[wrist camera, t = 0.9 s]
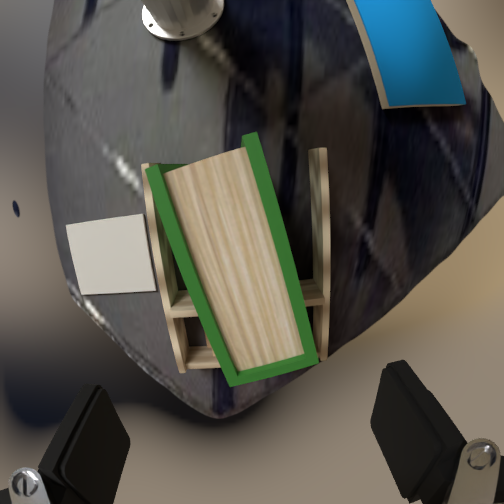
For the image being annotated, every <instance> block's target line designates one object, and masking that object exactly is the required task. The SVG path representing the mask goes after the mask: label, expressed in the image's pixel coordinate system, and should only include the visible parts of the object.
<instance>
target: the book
mask: <svg viewBox="0 0 504 504" xmlns="http://www.w3.org/2000/svg"><path fill="white" fill-rule="evenodd" d="M346 1H347V4H348V6H349V8H350V11H351V13H352V16H353V18H354V21H355V24H356V26H357V29H358V32H359V34H360V37H361V40H362V43H363V46H364V49H365V52H366V55H367V58H368V61H369V64H370V67H371V71H372V74H373V77H374V81H375V84H376V88H377V92H378V95H379V99H380V103H381V107H382V109H389V108H404V107H424V106H459V105H464V104H466V101H465V97H464V93H463V89H462V86H461V82H460V78H459V75H458V71H457V68H456V65H455V62H454V59H453V56H452V53H451V50H450V47H449V44H448V41H447V38H446V36H445V33H444V31H443V28H442V26H441V23H440V21H439V18H438V16H437V14H436V11H435V9H434V7H433V5H432V3H431V0H346Z"/></svg>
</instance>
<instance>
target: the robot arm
mask: <svg viewBox="0 0 504 504" xmlns="http://www.w3.org/2000/svg"><path fill="white" fill-rule="evenodd" d="M141 1H142V3H143V4H144V7H143V10H142V20H143V23H144V25H145V27H146V28H147V30H148V31H149V32H150V33H151V34H153V35H154V36H156V37H158V38H160V39H164V40H169V41H180V40H187V39H191V38H194V37H196V36H199V35H201V34H203V33H205V32H206V31H208V30H209V29H210V28H212V27H213V26H214V25H215V24H216V23H217V22H218V20H219V19H220V17H221V15H222V13H223V10H224V0H141ZM214 16H216V17H214ZM152 26H153V27H152ZM182 35H184V36H182ZM371 428H372V431H373V433H374V435H375V437H376V439H377V442H378V444H379V446H380V448H381V450H382V453H383V455H384V457H385V459H386V461H387V464H388V466H389V468H390V471H391V473H392V475H393V478H394V480H395V482H396V484H397V486H398V489H399V491H400V494H401V496H402V497H403V498H404V499H405V498H407V499H408V501H409V503H412V502H415V501H417V500H420V499H421V501H422V503H423V504H504V456H501V455H500V450H499V448H498V446H497V445H496V444H495V443H494V442H492V441H491V440H488V439H484V438H479V439H474V440H472V441H470V442H469V443H467V441H466V440H465V439H464V437H463V436H462V434H461V433H460V431H459V430H458V428H457V427H456V426H455V424H454V423H453V421H452V420H451V419H450V417H449V416H448V414H447V413H446V412H445V410H444V409H443V408H442V406H441V405H440V403H439V402H438V401H437V399H436V398H435V397H434V395H433V394H432V393H431V392H430V391H429V390H427V389H426V387H425V386H424V385H423V383H422V382H421V381H420V380H419V378H418V377H417V375H416V374H415V373H414V372H413V370H412V369H411V367H410V366H409V365H408V363H407V362H406V361H405V360H400V361H396V362H392V363H388V364H387V366H386V368H384V369H383V370H382V374H381V378H380V384H379V388H378V392H377V396H376V401H375V405H374V409H373V413H372V416H371ZM129 448H130V438H129V436H128V434H127V432H126V430H125V428H124V426H123V424H122V422H121V421H120V419H119V417H118V414H117V413H116V410H115V408H114V406H113V404H112V402H111V400H110V398H109V396H108V393H107V392H106V390H105V389H102V387H101V386H100V385H94V384H84V385H83V386H82V388H81V389H80V391H79V393H78V395H77V396H76V398H75V400H74V401H73V403H72V405H71V407H70V408H69V410H68V412H67V413H66V415H65V417H64V419H63V421H62V422H61V424H60V426H59V428H58V430H57V431H56V433H55V435H54V437H53V439H52V441H51V443H50V444H49V446H48V448H47V450H46V452H45V454H44V456H43V458H42V460H41V462H40V464H39V466H38V468H39V470H38V472H37V471H36V470H33V469H32V468H21V469H18V470H16V471H15V472H14V473H13V474H12V475H11V477H10V478H9V482H8V487H9V488H7V489H4V490H1V491H0V504H113V502H114V499H115V495H116V492H117V488H118V484H119V481H120V478H121V474H122V471H123V467H124V464H125V461H126V457H127V454H128V451H129Z"/></svg>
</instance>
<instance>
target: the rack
mask: <svg viewBox="0 0 504 504" xmlns="http://www.w3.org/2000/svg"><path fill="white" fill-rule="evenodd" d="M308 157H309V173H310V190H311V211H312V240H313V279H307V280H299V283H300V287H301V291H302V295H303V299H304V303H305V307H307V306H313V340H314V344H315V348H316V352H317V357H320V360H321V361H324V360H327V354H328V337H329V313H330V204H329V180H328V162H327V148H315V149H310V150H308ZM156 164H161V163H147V164H141V167H142V176H143V185H144V194H145V202H146V209H147V217H148V224H149V230H150V237H151V243H152V249H153V255H154V261H155V266H156V272H157V277H158V282H159V288H160V293H161V297H162V302H163V307H164V312H165V316H166V321H167V325H168V329H169V334H170V338H171V342H172V346H173V350H174V354H175V358H176V362H177V365H178V369H179V373H186V369H201V368H221V366H220V364H219V362H218V360H217V358H216V356H213V353H212V348H208V347H207V346H194V347H189V342H188V338H187V333H186V328H185V323H184V318H183V317H195V316H198V314H197V312H196V309H195V307H194V305H193V302H192V300H191V297H190V295H189V292H188V290H183V291H178V286H177V281H176V275H175V269H174V263H173V257H172V250H171V246H170V243H169V240H168V237H167V235H166V232H165V229H164V226H163V223H162V221H161V218H160V215H159V212H158V209H157V206H156V203H155V200H154V197H153V194H152V191H151V188H150V185H149V182H148V179H147V176H146V172H145V169H146V168H149V167H151V166H154V165H156Z"/></svg>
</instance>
